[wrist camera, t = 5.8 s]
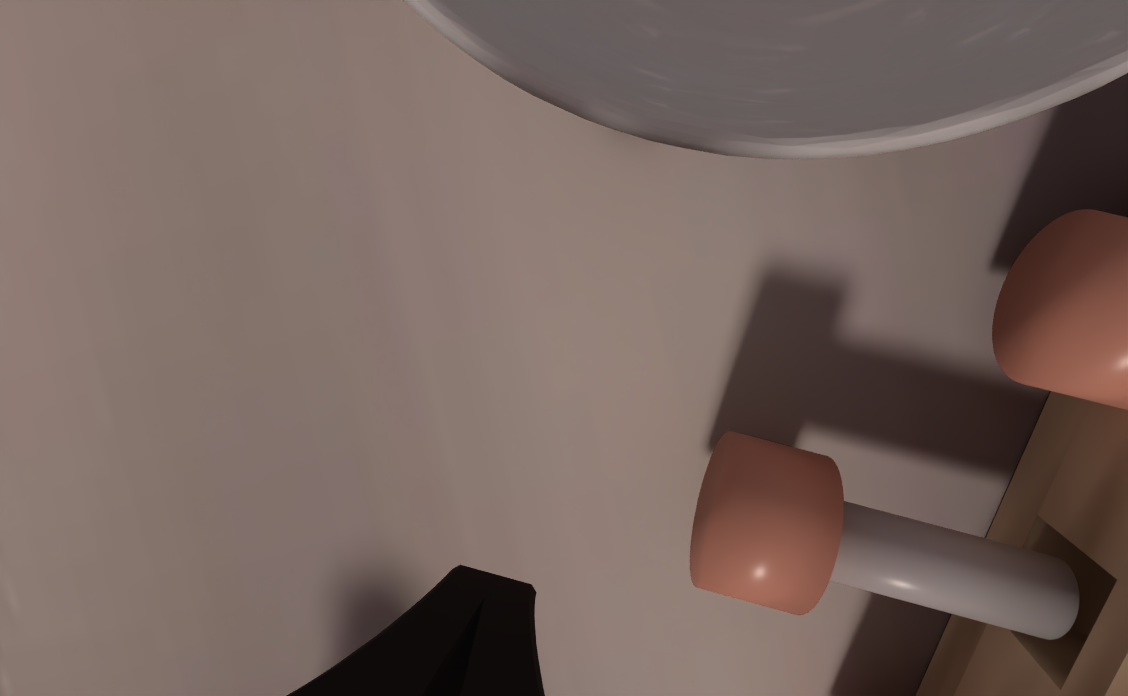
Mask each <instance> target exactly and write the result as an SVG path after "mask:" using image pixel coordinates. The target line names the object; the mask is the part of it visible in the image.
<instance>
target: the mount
mask: <svg viewBox="0 0 1128 696" xmlns="http://www.w3.org/2000/svg"><path fill="white" fill-rule="evenodd" d="M986 539H990V540H993V541H997V542H1001V543H1005V544H1009V545H1012V546H1016V547H1020V548H1024V549H1028V550H1031V551H1035V552H1039V553H1043V554H1046V555H1050V556H1054V557H1057V558H1059V559H1061V560H1063V561H1064V562H1065V563H1066V564H1067V565H1068V566H1069V567H1070V568H1071V570H1072V571H1073V573H1074V575H1075V578H1076V580H1077V583H1078V588H1079V609H1078V613H1077V617H1076V619H1075V622H1074V624H1073V625H1072V627H1071V628H1070V630H1069V631H1068V632H1067V633H1066V634H1065V635H1063V636H1062V637H1060V638H1058V639H1054V640H1047V639H1043V638H1039V637H1036V636H1032V635H1028V634H1025V633H1021V632H1017V631H1014V630H1010V629H1006V628H1002V627H999V626H995V625H991V624H988V623H984V622H980V621H977V620H973V619H969V618H966V617H962V616H958V615H955V614H952V615H951V617H950V619H949V622H948V624H947V626H946V628H945V631H944V633H943V635H942V637H941V640H940V642H939V644H938V646H937V649H936V651H935V653H934V655H933V658H932V660H931V662H930V664H929V667H928V669H927V671H926V673H925V676H924V678H923V680H922V682H921V685H920V687H919V689H918V691H917V694H916V696H1128V410H1125V409H1121V408H1117V407H1113V406H1109V405H1105V404H1101V403H1097V402H1093V401H1089V400H1085V399H1081V398H1077V397H1073V396H1069V395H1065V394H1061V393H1057V392H1053V391H1051V392H1050V394H1049V397H1048V399H1047V401H1046V403H1045V406H1044V408H1043V410H1042V412H1041V415H1040V417H1039V419H1038V421H1037V424H1036V426H1035V428H1034V430H1033V433H1032V435H1031V437H1030V439H1029V442H1028V444H1027V446H1026V448H1025V451H1024V453H1023V455H1022V457H1021V460H1020V462H1019V464H1018V466H1017V469H1016V471H1015V473H1014V475H1013V478H1012V480H1011V482H1010V484H1009V487H1008V489H1007V491H1006V493H1005V496H1004V498H1003V500H1002V502H1001V505H1000V507H999V509H998V511H997V514H996V516H995V518H994V520H993V523H992V525H991V527H990V529H989V532H988V534H987V536H986Z"/></svg>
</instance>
